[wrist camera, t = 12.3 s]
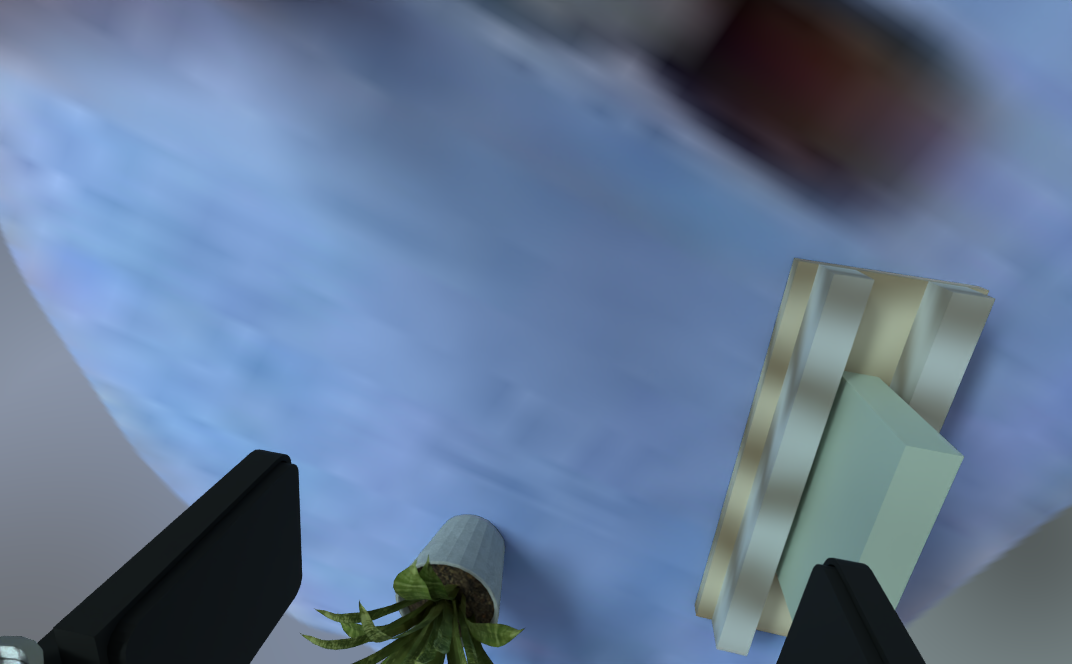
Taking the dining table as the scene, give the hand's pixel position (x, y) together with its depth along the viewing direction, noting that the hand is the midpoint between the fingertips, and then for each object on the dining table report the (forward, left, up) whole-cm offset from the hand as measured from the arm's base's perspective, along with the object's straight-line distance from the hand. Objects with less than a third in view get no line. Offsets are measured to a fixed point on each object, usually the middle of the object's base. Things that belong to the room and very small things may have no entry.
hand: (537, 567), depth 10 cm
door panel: (+10, +16, -25) cm, 31 cm away
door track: (+10, +16, -26) cm, 32 cm away
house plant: (+21, -7, -26) cm, 35 cm away
